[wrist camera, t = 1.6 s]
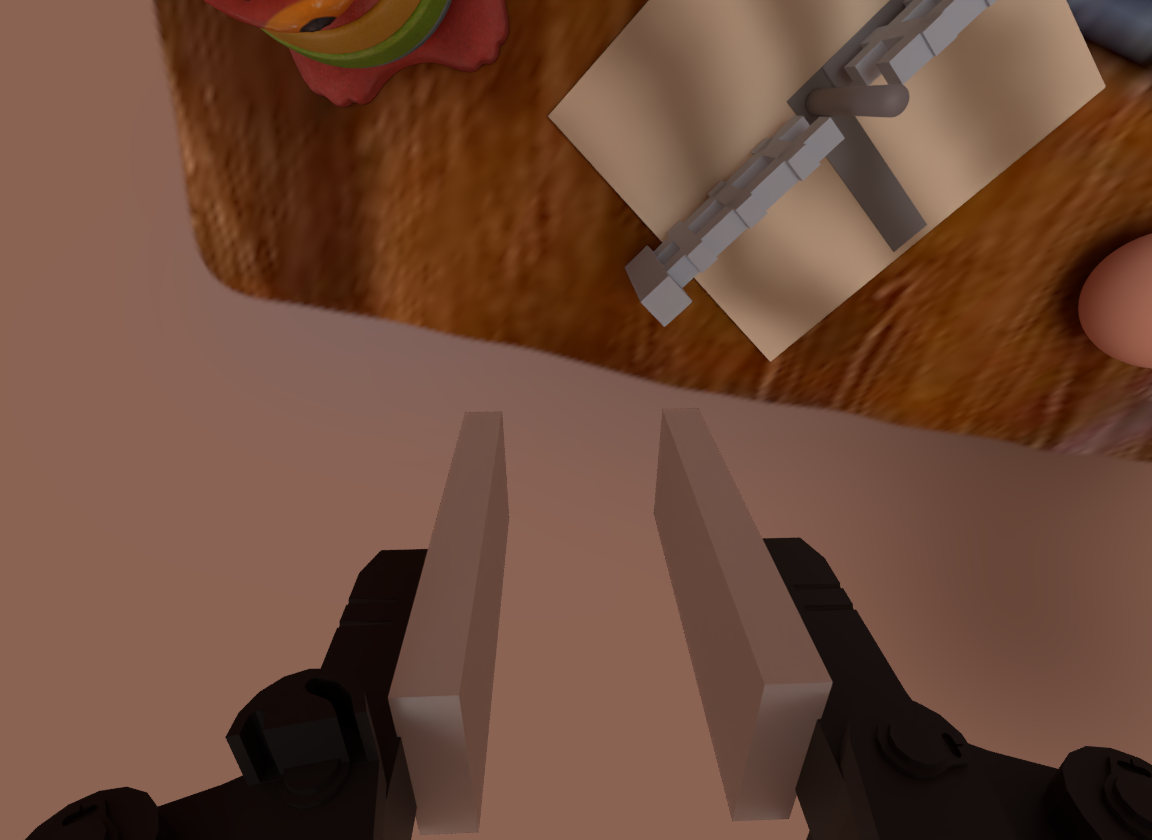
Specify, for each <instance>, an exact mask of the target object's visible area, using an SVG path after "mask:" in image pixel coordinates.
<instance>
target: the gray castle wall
mask: <svg viewBox="0 0 1152 840" xmlns="http://www.w3.org/2000/svg"><path fill="white" fill-rule="evenodd" d="M844 139H845V138H844V136H843V135H842V133H841V132H840V131H839V129H838V128H837V126H836V125H835V123H834V122H833V120H832V119H831V117H819V118H818V119H817V120H816V121H815V122H813V123H812V124H811V125H809V124H808V122H807V121H806V119H805V118H804V117H803V116H793V117H792V118H791V119H790V120H789V121H788V122H787V123H786V124H785V125H784V126H783V127H782V128H781V129H780V130H779V131H778V132H777V133H776V134H774V135H773V136H772V137H771V138H765V139H764V140H762V141H761V142H760V143H759V144H758V145H757V146H756V147H755V148H754V149H753V150H752V151H751V153H752V155H753V156H752V157H751V158H750V159H749V160H748V161H747V162H746V163H744V164H743V165H742V166H741V167H740V168H739V169H738V170H737V171H736V172H735V173H734V174H733V175H732V176H731V177H730V178H729V179H728V180H727V181H726V182H724V181H722V180H721V181H720V182H719V183H718V184H717V185H716V186H715V187H714V188H713V189H712V190H711V191H710V192H709V193H708V196H709V198H708V199H707V200H706V201H705V202H704V203H703V204H702V205H701V206H700V207H699V208H698V209H697V210H696V211H695V212H694V213H693V214H692V215H691V216H690V217H689V218H688V219H687V220H685V221H684V222H683V223H682V222H681V221H679V222H678V223H677V224H676V225H675V226H674V227H673V228H672V229H671V230H670V231H669V232H668V233H667V235H668V236H669V237H668V238H667V239H666V240H665V241H664V242H663V243H662V244H661V245H660V246H659V247H658V248H657V249H655V250H654V251H652V250H651V249H650V247H649V246H648V245H647V246H646V247H645V248H644V249H643V250H642V251H641V252H640V253H639V254H638V255H637V256H636V257H635V258H634V259H633V260H632V261H631V262H630V263H629V264H627V265H626V266H625V267H624V268H625V270H626V272H627V274H628V276H629V278H630V281H631V283H632V285H633V287H634V289H635V291H636V294H637V296H638V298H639V300H640V302H641V303H642V304H643V305H644V306H645V307H646V308H647V309H648V311H649V312H650V313H651V314H652V315H653V316H654V317H655V318H656V319H657V320H658V321H659V322H660V323H661V324H662V325H663V326H664V327H665V326H666V325H667V324H669V323H670V322H671V321H672V320H673V319H674V318H675V317H676V316H677V315H678V314H680V313H681V312H682V311H683V310H684V309H685V308H686V307H687V306H688V305H690V304H691V303H692V300H691V299H690V297H689V296H688V295H687V293H686V292H685V290H684V289H683V287H684V286H685V285H686V284H687V283H688V282H689V281H690V280H692V279H693V278H694V277H695V276H696V275H697V274H698V273H699V272H701V273H703V272H704V271H705V270H706V269H708V268H709V267H710V266H711V265H712V264H713V263H714V262H715V261H716V260H717V259H718V258H717V256H718V255H719V254H720V253H721V252H722V251H723V250H724V249H725V248H726V247H727V246H728V245H730V244H731V243H732V242H733V241H734V240H735V239H736V238H737V237H738V236H739V235H740V234H741V233H743V232H744V231H745V230H746V229H747V228H748V227H749V228H750V229H751V228H752V227H753V226H754V225H755V224H757V223H758V222H759V221H760V220H761V219H762V218H763V217H764V216H765V215H766V214H767V212H766V210H768V209H769V208H770V207H771V206H772V205H773V204H774V203H775V202H776V201H777V200H778V199H779V198H781V197H782V196H783V195H784V194H785V193H786V192H787V191H788V190H789V189H790V188H791V187H793V186H794V185H795V184H796V183H797V182H798V181H799V180H801V181H803V180H804V179H806V178H807V177H808V176H809V175H810V174H811V173H812V172H813V171H814V170H815V169H816V168H818V167H819V166H820V165H821V164H820V163H819V162H820V161H821V160H822V159H823V158H824V157H825V156H826V155H827V154H828V153H829V152H831V151H832V150H833V149H834V148H835V147H836V146H837V145H838V144H839V143H840V142H841V141H842V140H844Z"/></svg>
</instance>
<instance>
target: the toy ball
mask: <svg viewBox="0 0 1152 840" xmlns="http://www.w3.org/2000/svg"><path fill="white" fill-rule="evenodd" d="M1078 314H1079V319H1080V323H1081V325H1082V328H1083V330H1084V331H1085V333H1086V335H1087V336H1088V337H1089V339H1090V340H1091V341H1092V342H1093V343H1094V344H1095V345H1096V346H1097V347H1098V348H1099V349H1100V350H1102V351H1103V352H1104V353H1106V354H1108V355H1109V356H1111V357H1113V358H1115V359H1117V360H1119V361H1122V362H1125V363H1128V364H1131V365H1135V366H1140V367H1146V368H1152V233H1151V234H1148V235H1145V236H1142V237H1140V238H1137V239H1135V240H1133V241H1131V242H1129V243H1127V244H1125V245H1123V246H1121V247H1120V248H1118V249H1117V250H1115V251H1114V252H1112V253H1111V254H1110V255H1108V256H1107V257H1106V258H1105V259H1104V260H1102V261H1101V262H1100V263H1099V264H1098V265H1097V266H1096V267H1095V269H1094V270H1093V271H1092V272H1091V274H1090V275H1089V277H1088V278H1087V280H1086V281H1085V283H1084V285H1083V288H1082V290H1081V293H1080V297H1079V302H1078Z"/></svg>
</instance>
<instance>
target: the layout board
mask: <svg viewBox="0 0 1152 840" xmlns="http://www.w3.org/2000/svg"><path fill="white" fill-rule="evenodd" d="M903 1H904V0H649V1H648V2H647V3H646V4H645V5H644V6H643V7H642V9H641V10H640V11H639V12H638V13H637V14H636V15H635V17H634V18H633V19H632V20H631V21H630V22H629V23H628V25H627V26H626V27H625V28H624V29H623V30H622V32H621V33H620V34H619V35H618V36H617V37H616V38H615V40H614V41H613V42H612V43H611V44H610V45H609V46H608V48H607V49H606V50H605V51H604V52H603V53H602V55H601V56H600V57H599V58H598V59H597V60H596V61H595V63H594V64H593V65H592V66H591V67H590V68H589V69H588V71H587V72H586V73H585V74H584V75H583V76H582V78H581V79H580V80H579V81H578V82H577V83H576V84H575V86H574V87H573V88H572V89H571V90H570V91H569V92H568V94H567V95H566V96H565V97H564V98H563V99H562V101H561V102H560V103H559V104H558V105H557V106H556V107H555V109H554V110H553V111H552V112H551V113H550V114H549V115H548V117H549V118H550V119H551V120H552V121H553V122H554V123H555V125H556V126H557V127H558V128H559V129H560V130H561V131H562V132H563V133H564V134H565V136H566V137H567V138H568V139H569V140H570V141H571V142H572V143H573V144H574V146H575V147H576V148H577V149H578V150H579V151H580V152H581V153H582V154H583V155H584V157H585V158H586V159H587V160H588V161H589V162H590V163H591V164H592V165H593V167H594V168H595V169H596V170H597V171H598V172H599V173H600V174H601V175H602V176H603V178H604V179H605V180H606V181H607V182H608V183H609V184H610V185H611V186H612V188H613V189H614V190H615V191H616V192H617V193H618V194H619V195H620V196H621V197H622V199H623V200H624V201H625V202H626V203H627V204H628V205H629V206H630V207H631V209H632V210H633V211H634V212H635V213H636V214H637V215H638V216H639V217H640V218H641V220H642V221H643V222H644V223H645V224H646V225H647V226H648V227H649V228H650V229H651V231H652V232H653V233H654V234H655V235H656V236H657V237H658V238H659V239H660V241H661V242H662V243H663V242H664V241H665V240H666V239H667V238H668V237H669V236H668V235H667V233H668V232H669V231H670V230H671V229H672V228H673V227H674V226H675V225H676V224H677V223H678V222H679V221H681V222H682V223H683V222H684V221H685V220H687V219H688V218H689V217H690V216H691V215H692V214H693V213H694V212H695V211H696V210H697V209H698V208H699V207H700V206H701V205H702V204H703V203H704V202H705V201H706V200H707V199H708V198H709V196H708V193H709V192H710V191H711V190H712V189H713V188H714V187H715V186H716V185H717V184H718V183H719V182H720V181H721V180H722V181H724V182H726V181H727V180H728V179H729V178H730V177H731V176H732V175H733V174H734V173H735V172H736V171H737V170H738V169H739V168H740V167H741V166H742V165H743V164H744V163H746V162H747V161H748V160H749V159H750V158H751V157H752V156H753V155H752V153H751V151H752V150H753V149H754V148H755V147H756V146H757V145H758V144H759V143H760V142H761V141H762V140H764V139H765V138H771V137H772V136H773V135H774V134H776V133H777V132H778V131H779V130H780V129H781V128H782V127H783V126H784V125H785V124H786V123H787V122H788V121H789V120H790V119H791V118H792V117H793V116H803V117H804V118H805V119H806V121H807V122H808V124H809V125H811V124H812V123H813V122H815V121H816V120H817V119H818V118H819V117H831V119H832V120H833V122H834V123H835V125H836V126H837V128H838V129H839V131H840V132H841V133H842V135H843V136H844V138H845V139H844V140H842V141H841V142H840V143H839V144H838V145H837V146H836V147H835V148H834V149H833V150H832V151H831V152H829V153H828V154H827V155H826V156H825V157H824V158H823V159H822V160H821V161H820V162H819V163H820V164H821V165H820V166H819V167H818V168H816V169H815V170H814V171H813V172H812V173H811V174H810V175H809V176H808V177H807V178H806V179H804V180H803V181H801V180H799V181H798V182H797V183H796V184H795V185H794V186H793V187H791V188H790V189H789V190H788V191H787V192H786V193H785V194H784V195H783V196H782V197H781V198H779V199H778V200H777V201H776V202H775V203H774V204H773V205H772V206H771V207H770V208H769V209H768V210H766V212H767V214H766V215H765V216H764V217H763V218H762V219H761V220H760V221H759V222H758V223H757V224H755V225H754V226H753V227H752V228H751V229H750V228H749V227H748V228H747V229H746V230H745V231H744V232H743V233H741V234H740V235H739V236H738V237H737V238H736V239H735V240H734V241H733V242H732V243H731V244H730V245H728V246H727V247H726V248H725V249H724V250H723V251H722V252H721V253H720V254H719V255H718V256H717V258H718V259H717V260H716V261H715V262H714V263H713V264H712V265H711V266H710V267H709V268H708V269H706V270H705V271H704V272H703V273H701V272H699V273H698V274H697V275H696V276H695V277H694V278H695V279H696V280H697V281H698V283H699V284H700V285H701V286H702V287H703V288H704V289H705V290H706V291H707V292H708V294H709V295H710V296H711V297H712V298H713V299H714V300H715V301H716V302H717V304H718V305H719V306H720V307H721V308H722V309H723V310H724V311H725V312H726V313H727V315H728V316H729V317H730V318H731V319H732V320H733V321H734V322H735V323H736V325H737V326H738V327H739V328H740V329H741V330H742V331H743V332H744V333H745V334H746V336H747V337H748V338H749V339H750V340H751V341H752V342H753V343H754V344H755V345H756V347H757V348H758V349H759V350H760V351H761V352H762V353H763V354H764V355H765V357H766V358H767V359H768V360H769V361H770V362H771V361H772V360H773V359H774V358H776V357H777V356H778V355H779V354H780V353H782V352H783V351H784V350H785V349H787V348H788V347H789V346H790V345H791V344H793V343H794V342H795V341H796V340H798V339H799V338H800V337H801V336H802V335H804V334H805V333H806V332H807V331H809V330H810V329H811V328H812V327H813V326H815V325H816V324H817V323H818V322H820V321H821V320H822V319H823V318H824V317H826V316H827V315H828V314H829V313H831V312H832V311H833V310H834V309H835V308H837V307H838V306H839V305H840V304H842V303H843V302H844V301H845V300H846V299H848V298H849V297H850V296H851V295H853V294H854V293H855V292H856V291H857V290H859V289H860V288H861V287H862V286H864V285H865V284H866V283H867V282H868V281H870V280H871V279H872V278H873V277H875V276H876V275H877V274H878V273H879V272H881V271H882V270H883V269H884V268H885V267H887V266H888V265H889V264H890V263H892V262H893V261H894V260H895V259H896V258H898V257H899V256H900V255H901V254H903V253H904V252H905V251H906V250H907V249H909V248H910V247H911V246H912V245H914V244H915V243H916V242H917V241H918V240H920V239H921V238H922V237H923V236H925V235H926V234H927V233H928V232H929V231H931V230H932V229H933V228H934V227H936V226H937V225H938V224H939V223H940V222H942V221H943V220H944V219H945V218H947V217H948V216H949V215H950V214H951V213H953V212H954V211H955V210H956V209H958V208H959V207H960V206H961V205H962V204H964V203H965V202H966V201H967V200H969V199H970V198H971V197H972V196H973V195H975V194H976V193H977V192H978V191H980V190H981V189H982V188H983V187H984V186H986V185H987V184H988V183H989V182H991V181H992V180H993V179H994V178H995V177H997V176H998V175H999V174H1000V173H1001V172H1003V171H1004V170H1005V169H1006V168H1008V167H1009V166H1010V165H1011V164H1012V163H1014V162H1015V161H1016V160H1017V159H1019V158H1020V157H1021V156H1022V155H1023V154H1025V153H1026V152H1027V151H1028V150H1030V149H1031V148H1032V147H1033V146H1034V145H1036V144H1037V143H1038V142H1039V141H1041V140H1042V139H1043V138H1044V137H1045V136H1047V135H1048V134H1049V133H1050V132H1052V131H1053V130H1054V129H1055V128H1056V127H1058V126H1059V125H1060V124H1061V123H1063V122H1064V121H1065V120H1066V119H1067V118H1069V117H1070V116H1071V115H1072V114H1074V113H1075V112H1076V111H1077V110H1078V109H1080V108H1081V107H1082V106H1083V105H1085V104H1086V103H1087V102H1088V101H1089V100H1091V99H1092V98H1093V97H1094V96H1096V95H1097V94H1098V93H1099V92H1100V91H1102V90H1103V89H1104V88H1105V87H1106V86H1105V84H1104V82H1103V80H1102V78H1101V75H1100V73H1099V71H1098V69H1097V67H1096V65H1095V62H1094V60H1093V58H1092V56H1091V54H1090V51H1089V49H1088V47H1087V45H1086V43H1085V40H1084V38H1083V36H1082V34H1081V32H1080V30H1079V27H1078V25H1077V23H1076V21H1075V19H1074V16H1073V14H1072V12H1071V10H1070V8H1069V6H1068V3H1067V1H1066V0H997V1H996V2H995V3H994V4H993V5H991V6H990V7H987V8H986V9H985V10H984V11H982V12H981V13H980V14H979V15H978V16H977V17H976V18H975V19H974V20H973V21H972V22H971V23H969V24H968V25H967V26H966V27H965V28H964V29H963V30H962V31H961V32H960V33H959V34H958V35H957V36H958V37H957V38H956V39H954V40H953V41H952V42H951V43H950V44H949V45H948V46H947V47H946V48H945V49H944V50H943V51H941V52H940V53H939V54H938V55H937V56H934V57H933V58H931V59H930V60H929V61H928V62H927V63H926V64H925V65H924V66H923V67H922V68H921V69H920V70H918V71H917V72H916V73H915V74H914V75H913V76H912V77H911V78H910V79H909V80H908V81H906V82H905V83H904V84H903V85H904V86H905V87H906V88H907V89H908V91H909V102H908V105H907V107H906V109H905V110H904V111H903V112H902V113H901V114H900V115H898V116H896V117H892V118H889V117H865V116H841V115H817V114H810V113H809V112H808V111H807V110H806V108H805V100H806V97H807V95H808V94H809V93H810V92H811V91H812V90H814V89H818V88H835V87H853V86H855V84H854V82H853V81H852V79H851V78H850V76H849V75H848V73H847V72H846V70H845V69H844V67H845V66H846V65H847V64H848V63H849V62H850V61H851V60H852V59H853V58H854V57H855V56H856V55H857V54H858V53H859V52H860V51H861V50H862V48H861V46H860V45H859V44H860V43H861V42H862V41H863V40H864V39H865V38H866V37H867V36H868V35H869V34H871V33H872V32H873V31H874V30H875V29H876V28H877V27H882V26H886V25H888V24H889V23H890V22H891V21H892V20H894V19H895V18H896V17H897V16H898V15H899V14H900V13H901V12H902V11H903V10H904V9H905V8H906V7H905V5H904V3H903ZM871 85H888V83H887V82H886V80H885V78H884V77H883V75H882V74H881V75H880V76H879V77H878V78H877V79H875V80H874V81H873V82H872V83H871V84H870V85H869V86H871Z"/></svg>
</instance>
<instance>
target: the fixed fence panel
mask: <svg viewBox="0 0 1152 840" xmlns="http://www.w3.org/2000/svg"><path fill="white" fill-rule="evenodd" d="M996 1H997V0H904V1H903V3H904V5H905V7H906V8H905V9H904V10H903V11H902V12H901V13H900V14H899V15H898V16H897V17H896V18H895V19H894V20H892V21H891V22H890V23H889V24H888V25H886V26H882V27H877V28H876V29H875V30H874V31H873V32H872V33H871V34H869V35H868V36H867V37H866V38H865V39H864V40H863V41H862V42H861V43H860V44H859V45H860V46H861V48H862V50H861V51H860V52H859V53H858V54H857V55H856V56H855V57H854V58H853V59H852V60H851V61H850V62H849V63H848V64H847V65H846V66H845V67H844V69H845V70H846V72H847V73H848V75H849V76H850V78H851V79H852V81H853V82H854V84H855V86H853V87H835V88H818V89H814V90H812V91H811V92H810V93H809V94H808V95H807V97H806V100H805V108H806V110H807V111H808V112H809V113H810V114H817V115H841V116H865V117H889V118H892V117H896V116H898V115H900V114H901V113H902V112H903V111H904V110H905V109H906V107H907V105H908V102H909V91H908V89H907V88H906V87H905V86H904V85H903V84H904V83H905V82H906V81H908V80H909V79H910V78H911V77H912V76H913V75H914V74H915V73H916V72H917V71H918V70H920V69H921V68H922V67H923V66H924V65H925V64H926V63H927V62H928V61H929V60H930V59H931V58H933V57H934V56H937V55H938V54H939V53H940V52H941V51H943V50H944V49H945V48H946V47H947V46H948V45H949V44H950V43H951V42H952V41H953V40H954V39H956V38H957V37H958V36H957V35H958V34H959V33H960V32H961V31H962V30H963V29H964V28H965V27H966V26H967V25H968V24H969V23H971V22H972V21H973V20H974V19H975V18H976V17H977V16H978V15H979V14H980V13H981V12H982V11H984V10H985V9H986V8H987V7H990V6H991V5H993V4H994V3H995V2H996ZM881 74H882V75H883V77H884V78H885V80H886V82H887V83H888V85H871V86H869V85H870V84H871V83H872V82H873V81H874V80H875V79H877V78H878V77H879V76H880V75H881Z"/></svg>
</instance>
